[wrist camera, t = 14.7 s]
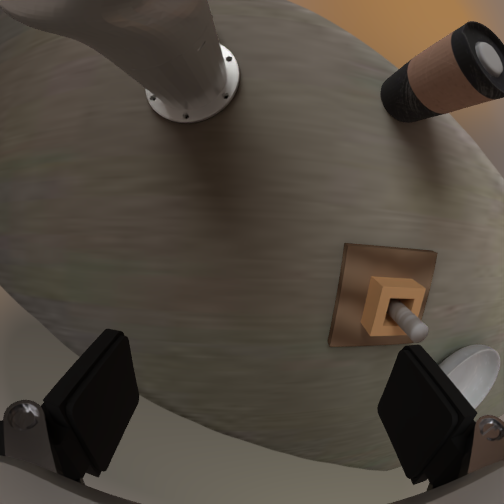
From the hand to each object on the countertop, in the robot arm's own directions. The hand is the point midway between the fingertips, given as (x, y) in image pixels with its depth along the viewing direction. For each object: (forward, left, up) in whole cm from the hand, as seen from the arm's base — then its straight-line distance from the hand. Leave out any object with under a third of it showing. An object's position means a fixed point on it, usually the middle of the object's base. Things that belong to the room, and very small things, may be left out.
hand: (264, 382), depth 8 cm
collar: (+8, +19, -27) cm, 34 cm away
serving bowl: (+26, +41, -29) cm, 56 cm away
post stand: (+8, +19, -28) cm, 35 cm away
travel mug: (-21, +19, -28) cm, 40 cm away
